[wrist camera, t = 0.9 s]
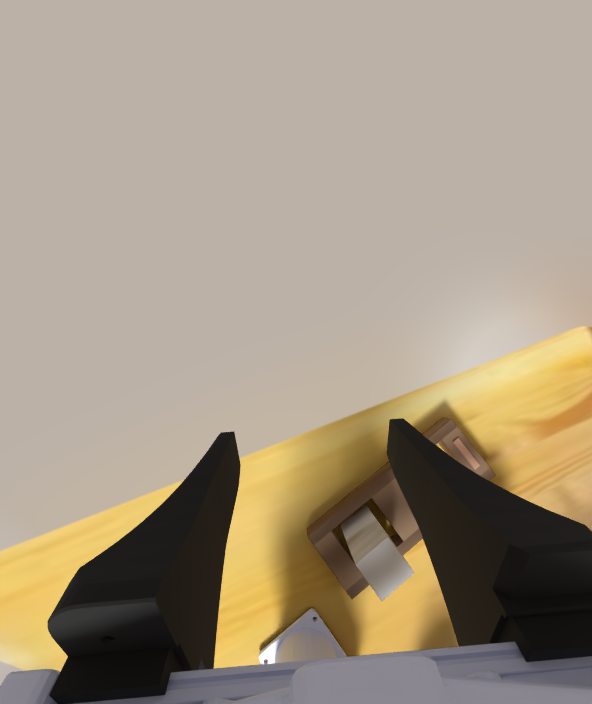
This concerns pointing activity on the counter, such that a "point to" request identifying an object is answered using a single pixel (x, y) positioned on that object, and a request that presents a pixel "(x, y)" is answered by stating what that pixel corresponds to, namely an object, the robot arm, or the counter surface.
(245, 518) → the counter surface
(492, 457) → the counter surface
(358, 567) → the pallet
